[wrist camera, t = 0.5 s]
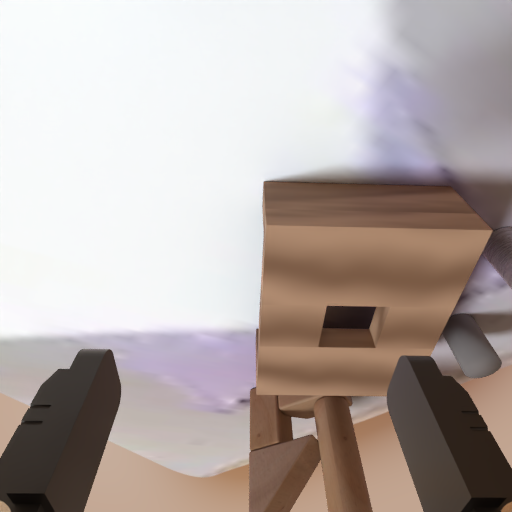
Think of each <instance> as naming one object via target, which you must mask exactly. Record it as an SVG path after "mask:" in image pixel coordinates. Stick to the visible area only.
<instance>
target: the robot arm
mask: <svg viewBox="0 0 512 512" xmlns="http://www.w3.org/2000/svg"><path fill="white" fill-rule="evenodd" d="M120 398H121V384H120V379H119V375H118V371H117V368H116V364H115V360H114V356H113V352H112V351H111V350H110V349H82V350H80V351H79V352H78V354H77V355H76V357H75V359H74V361H73V363H72V365H71V367H70V369H58V370H57V371H56V372H55V373H54V374H53V375H52V376H51V377H50V378H49V379H48V380H46V381H45V382H44V383H43V384H42V385H41V387H40V389H39V390H38V392H37V394H36V396H35V397H34V399H33V401H32V403H31V407H30V409H28V410H27V412H26V414H25V415H24V417H23V419H22V422H21V425H19V426H18V428H17V430H16V431H15V433H14V435H13V437H12V438H11V440H10V442H9V444H8V445H7V447H6V449H5V451H4V453H3V454H2V456H1V458H0V512H84V509H85V506H86V503H87V500H88V497H89V494H90V491H91V488H92V485H93V482H94V479H95V476H96V473H97V470H98V467H99V464H100V461H101V458H102V455H103V452H104V449H105V446H106V443H107V440H108V437H109V434H110V431H111V428H112V425H113V422H114V419H115V417H116V414H117V411H118V407H119V404H120ZM387 405H388V410H389V413H390V416H391V419H392V422H393V425H394V427H395V431H396V433H397V436H398V439H399V442H400V445H401V448H402V451H403V453H404V456H405V459H406V462H407V465H408V467H409V471H410V473H411V476H412V479H413V482H414V485H415V488H416V491H417V494H418V496H419V499H420V502H421V505H422V507H423V511H424V512H512V468H511V467H510V465H509V463H508V462H507V460H506V458H505V456H504V455H503V453H502V451H501V450H500V448H499V446H498V444H497V442H496V441H495V439H494V437H493V435H492V434H491V432H490V431H488V428H487V425H486V423H485V422H484V420H483V418H482V417H481V415H479V413H478V410H477V408H476V406H475V404H474V403H473V401H472V399H471V398H470V396H469V394H468V392H467V391H466V390H465V389H464V388H463V387H462V386H461V385H460V384H459V383H458V382H456V381H455V380H454V379H453V378H452V377H451V376H442V374H441V372H440V370H439V368H438V367H437V365H436V363H435V361H434V360H433V358H431V357H430V356H407V355H402V356H401V357H400V358H399V360H398V362H397V365H396V368H395V370H394V373H393V376H392V379H391V381H390V384H389V387H388V390H387Z"/></svg>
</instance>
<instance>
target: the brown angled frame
mask: <svg viewBox="0 0 512 512" xmlns="http://www.w3.org/2000/svg"><path fill="white" fill-rule="evenodd" d="M351 405H352V398H351V396H317V395H256V388H253V389H251V391H250V450H251V452H250V453H249V512H290V510H291V509H292V507H293V505H294V504H295V502H296V500H297V498H298V497H299V495H300V493H301V492H302V490H303V488H304V487H305V485H306V483H307V482H308V480H309V478H310V477H311V475H312V473H313V472H314V470H315V468H316V467H317V465H318V463H319V461H320V460H321V464H322V471H323V477H324V485H325V491H326V498H327V505H328V512H373V511H372V507H371V503H370V498H369V494H368V490H367V485H366V481H365V476H364V472H363V467H362V463H361V458H360V454H359V450H358V445H357V441H356V437H355V432H354V428H353V423H352V419H351V414H350V410H349V406H351ZM291 417H298V418H305V419H308V418H312V417H315V422H316V429H317V436H318V440H317V439H316V438H315V437H314V436H313V435H308V436H305V437H301V438H297V439H294V440H293V433H292V422H291Z"/></svg>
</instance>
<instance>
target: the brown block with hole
mask: <svg viewBox="0 0 512 512" xmlns="http://www.w3.org/2000/svg"><path fill="white" fill-rule="evenodd" d="M263 226H264V241H263V260H262V278H261V296H260V314H259V329H256V395H317V396H387V390H388V387H389V384H390V381H391V379H392V376H393V373H394V370H395V368H396V365H397V362H398V360H399V358H400V357H401V356H402V355H407V356H430V355H431V353H432V351H433V349H434V347H435V345H436V343H437V341H438V339H439V337H440V335H441V333H442V331H443V329H444V327H445V325H446V323H447V321H448V319H449V317H450V315H451V313H452V311H453V309H454V307H455V305H456V303H457V301H458V299H459V297H460V295H461V293H462V291H463V289H464V287H465V285H466V283H467V281H468V279H469V277H470V275H471V273H472V271H473V269H474V267H475V265H476V263H477V261H478V259H479V257H480V255H481V253H482V251H483V249H484V247H485V245H486V243H487V241H488V239H489V237H490V235H491V233H492V231H493V230H492V229H491V228H490V227H489V226H488V225H487V224H486V223H485V221H484V220H483V219H482V218H481V217H480V216H479V215H478V214H477V213H476V212H475V211H474V210H473V209H472V208H471V207H470V206H469V205H468V204H467V203H466V202H465V201H464V200H463V199H462V197H461V196H460V195H459V194H458V193H457V192H456V191H455V190H454V189H453V188H452V187H451V186H413V185H375V184H337V183H298V182H264V185H263ZM327 306H371V307H376V310H375V313H374V316H373V319H372V322H371V325H370V328H369V329H336V328H322V327H323V322H324V317H325V313H326V308H327Z"/></svg>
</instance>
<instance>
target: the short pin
mask: <svg viewBox="0 0 512 512" xmlns="http://www.w3.org/2000/svg"><path fill="white" fill-rule="evenodd" d="M442 334H443V335H444V337H445V339H446V341H447V343H448V345H449V347H450V348H451V350H452V352H453V354H454V356H455V358H456V360H457V361H458V363H459V365H460V367H461V369H462V371H463V373H464V374H465V375H466V376H467V377H470V378H482V377H486V376H488V375H491V374H493V373H494V372H496V371H497V370H498V369H499V368H500V367H501V364H502V362H501V360H500V358H499V357H498V355H497V354H496V352H495V351H494V349H493V347H492V346H491V344H490V343H489V341H488V340H487V338H486V337H485V335H484V334H483V332H482V331H481V329H480V328H479V326H478V325H477V323H476V321H475V320H474V318H473V317H472V316H471V315H468V314H457V315H453V316H451V317H449V319H448V321H447V323H446V325H445V327H444V329H443V331H442Z"/></svg>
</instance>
